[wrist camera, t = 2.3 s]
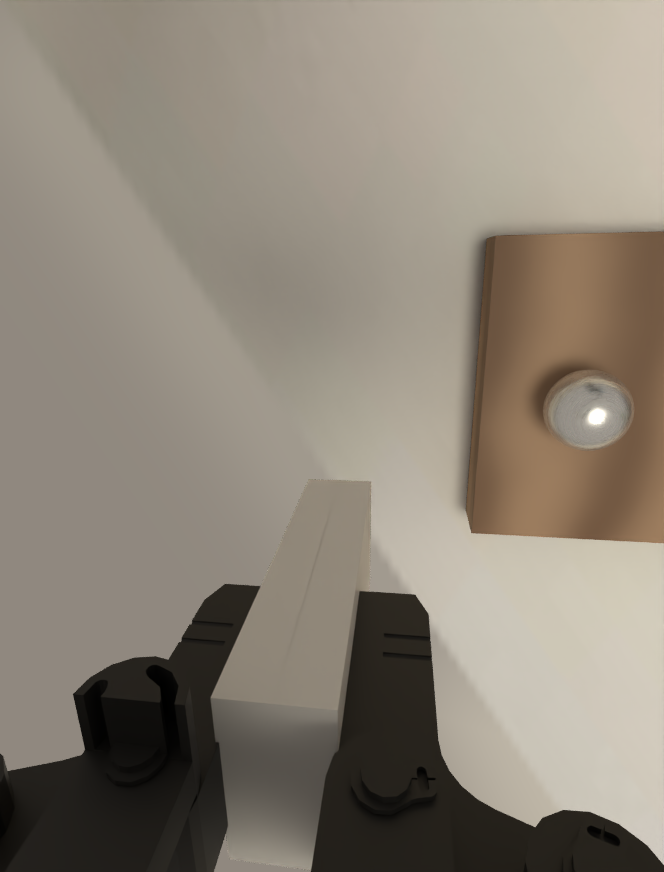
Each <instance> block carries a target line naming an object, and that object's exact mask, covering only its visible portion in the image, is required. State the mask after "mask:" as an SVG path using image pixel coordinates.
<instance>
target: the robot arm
mask: <svg viewBox="0 0 664 872" xmlns="http://www.w3.org/2000/svg"><path fill="white" fill-rule="evenodd" d="M370 539H371V482H368V481H342V480H316V479H314V480H313V479H309V480H308V482H307V484H306V486H305V489H304V491H303V493H302V495H301V498H300V500H299V502H298V504H297V506H296V509H295V511H294V513H293V515H292V518H291V520H290V522H289V524H288V526H287V529H286V531H285V533H284V535H283V538H282V540H281V542H280V544H279V547H278V549H277V551H276V553H275V556H274V558H273V560H272V562H271V564H270V567H269V569H268V571H267V573H266V575H265V578H264V580H263V582H262V584H261V586H249V585H233V584H225V585H223V586H222V587H221V588H219V589H218V590H217V591H215V592H214V593H213V594H212V595H210V596H209V597H208V598H206V599H205V600H204V602H203V603H202V605H201V607H200V608H199V610H198V612H197V613H196V615H195V617H194V618H193V620H192V624H191V625H189V626H188V628H187V630H186V631H185V633H184V635H183V637H182V641H181V642H179V643H178V645H177V647H176V648H175V650H174V651H173V653H172V655H171V656H170V658H169V660H167V659H163V658H159V657H156V656H155V657H139V658H132V659H129V660H126V661H122V662H120V663H116V664H113V665H111V666H109V667H107V668H106V669H104V670H102V671H100V672H99V673H97V674H95V675H93V676H92V677H90V678H89V679H88V680H87V681H86V682H85V683H84V684H83V685H82V686H81V687H80V688H79V689H78V690H77V691H76V692H75V693H74V694H73V696H74V700H75V705H76V710H77V714H78V719H79V723H80V728H81V732H82V737H83V742H84V746H85V751H84V753H83V754H82V755H81V756H77V757H73V758H70V759H66V760H63V761H58V762H53V763H48V764H42V765H37V766H32V767H27V768H22V769H17V770H11V771H7V768H6V765H5V761H4V758H3V756H2V755H1V754H0V872H214V869H215V866H216V863H217V859H218V856H219V853H220V850H221V847H222V844H223V840H224V837H225V834H226V839H227V848H228V857H229V859H233V860H240V861H247V862H255V863H261V864H269V865H276V866H283V867H290V868H297V869H304V870H311V872H664V865H663V864H662V863H661V861H660V860H659V859H658V858H657V857H656V855H655V854H654V853H653V852H652V851H651V850H650V848H649V847H648V846H647V845H646V844H644V843H643V842H642V841H640V840H639V839H638V838H636V837H635V836H634V835H632V834H631V833H630V832H628V831H627V830H626V829H624V828H623V827H622V826H620V825H619V824H617V823H615V822H612V821H610V820H608V819H605V818H603V817H600V816H598V815H596V814H593V813H591V812H583V811H570V810H562V811H560V812H557V813H554V814H552V815H549V816H547V817H544V818H542V819H541V821H540V822H539V823H538V825H537V826H536V827H533V826H531V825H529V824H526V823H524V822H522V821H520V820H517V819H515V818H513V817H511V816H508V815H506V814H504V813H502V812H500V811H497V810H495V809H493V808H492V807H490V806H488V805H486V804H484V803H483V802H481V801H479V800H478V799H476V798H475V797H474V796H473V795H471V794H470V793H469V792H468V791H467V790H466V789H464V788H463V787H462V786H461V785H460V784H459V782H458V781H457V780H456V779H455V777H454V776H453V775H452V774H451V772H450V771H449V769H448V767H447V765H446V763H445V761H444V759H443V757H442V755H441V750H440V746H439V741H438V732H437V731H438V730H437V719H436V705H435V692H434V681H433V667H432V654H431V642H430V628H429V615H428V613H427V611H426V610H425V608H424V607H423V606H422V604H421V603H420V601H419V600H418V598H417V597H416V595H412V594H396V593H381V592H369V585H370Z"/></svg>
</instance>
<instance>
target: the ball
mask: <svg viewBox="0 0 664 872" xmlns="http://www.w3.org/2000/svg"><path fill="white" fill-rule="evenodd" d="M633 416H634V403H633V398H632V396H631V393H630V392H629V390H628V388H627V387H626V386H625V384H624V383H623V382H622V381H620V380H619V379H618V378H616V377H615V376H613V375H611V374H609V373H606V372H603V371H599V370H580V371H576V372H573V373H570V374H568V375H566V376H564V377H562V378H561V379H560V380H558V381H557V382H556V383H555V384H554V385H553V386H552V387H551V389H550V390H549V392H548V394H547V396H546V398H545V401H544V405H543V417H544V422H545V424H546V427H547V429H548V430H549V432H550V433H551V435H552V436H553V437H554V438H555V439H556V440H557V441H559V442H560V443H561V444H563V445H565V446H567V447H569V448H572V449H575V450H581V451H594V450H600V449H603V448H606V447H608V446H610V445H612V444H614V443H616V442H617V441H618V440H620V439H621V438H622V437H623V436H624V435H625V433H626V432H627V431H628V429H629V427H630V425H631V423H632V420H633Z"/></svg>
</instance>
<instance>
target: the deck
mask: <svg viewBox="0 0 664 872" xmlns="http://www.w3.org/2000/svg"><path fill="white" fill-rule="evenodd" d="M580 370H599V371H603V372H606V373H609V374H611V375H613V376H615V377H616V378H618V379H619V380H620V381H622V382H623V383H624V384H625V386H626V387H627V388H628V390H629V392H630V393H631V396H632V398H633V403H634V416H633V420H632V423H631V425H630V427H629V429H628V431H627V432H626V433H625V435H624V436H623V437H622V438H621V439H620V440H618V441H617V442H616V443H614V444H612V445H610V446H608V447H606V448H603V449H600V450H594V451H581V450H575V449H572V448H569V447H567V446H565V445H563V444H561V443H560V442H559V441H557V440H556V439H555V438H554V437H553V436H552V435H551V433H550V432H549V430H548V429H547V427H546V424H545V422H544V417H543V405H544V401H545V398H546V396H547V394H548V392H549V390H550V389H551V387H552V386H553V385H554V384H555V383H556V382H557V381H558V380H560V379H561V378H562V377H564V376H566V375H568V374H570V373H573V372H576V371H580ZM466 513H467V517H468V521H469V525H470V529H471V533H481V534H500V535H519V536H538V537H557V538H576V539H595V540H614V541H633V542H652V543H664V232H627V233H586V234H545V235H504V236H494V237H491V238H488V239H487V242H486V255H485V268H484V281H483V294H482V307H481V320H480V333H479V346H478V359H477V372H476V385H475V398H474V411H473V424H472V437H471V450H470V463H469V477H468V490H467V503H466Z"/></svg>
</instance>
